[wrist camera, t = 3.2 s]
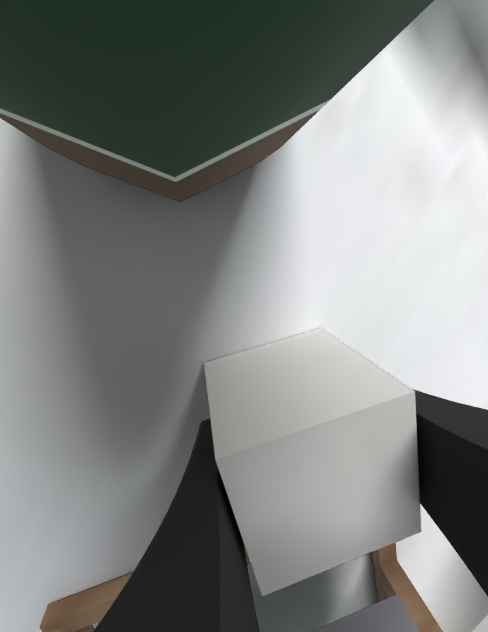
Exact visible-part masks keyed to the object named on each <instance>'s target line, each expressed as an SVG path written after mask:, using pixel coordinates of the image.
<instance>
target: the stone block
mask: <svg viewBox="0 0 488 632" xmlns="http://www.w3.org/2000/svg"><path fill="white" fill-rule="evenodd" d="M204 369H205V378H206V386H207V394H208V402H209V411H210V419H211V427H212V435H213V444H214V452H215V460H216V463H217V466H218V469H219V472H220V474H221V477H222V480H223V483H224V486H225V489H226V492H227V495H228V498H229V501H230V504H231V507H232V510H233V513H234V515H235V518H236V521H237V524H238V527H239V530H240V533H241V536H242V539H243V542H244V545H245V548H246V551H247V554H248V557H249V559H250V562H251V565H252V568H253V571H254V574H255V577H256V580H257V583H258V586H259V589H260V592H261V595H262V597H263V596H265V595H268V594H270V593H272V592H275V591H277V590H280V589H282V588H285V587H287V586H290V585H292V584H294V583H297V582H299V581H302V580H304V579H307V578H309V577H312V576H314V575H316V574H319V573H321V572H324V571H326V570H329V569H331V568H334V567H336V566H338V565H341V564H343V563H346V562H348V561H351V560H353V559H356V558H358V557H361V556H363V555H365V554H368V553H370V552H373V551H375V550H378V549H380V548H383V547H385V546H387V545H390V544H392V543H395V542H397V541H400V540H402V539H405V538H407V537H409V536H412V535H414V534H417V533H419V532H421V517H420V494H419V471H418V448H417V425H416V402H415V391H414V390H413V389H411V388H410V387H408V386H407V385H405V384H404V383H402V382H401V381H399V380H398V379H397V378H395V377H394V376H392V375H391V374H389V373H388V372H386V371H385V370H383V369H382V368H381V367H379V366H378V365H376V364H375V363H373V362H372V361H370V360H369V359H367V358H366V357H364V356H363V355H362V354H360V353H359V352H357V351H356V350H354V349H353V348H351V347H350V346H348V345H347V344H345V343H344V342H343V341H341V340H340V339H338V338H337V337H335V336H334V335H332V334H331V333H329V332H328V331H326V330H325V329H324V328H322V327H321V328H317V329H314V330H311V331H307V332H304V333H301V334H297V335H294V336H291V337H287V338H284V339H281V340H277V341H274V342H271V343H268V344H264V345H261V346H258V347H254V348H251V349H248V350H244V351H241V352H238V353H234V354H231V355H228V356H224V357H221V358H218V359H214V360H211V361H208V362H204Z"/></svg>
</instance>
